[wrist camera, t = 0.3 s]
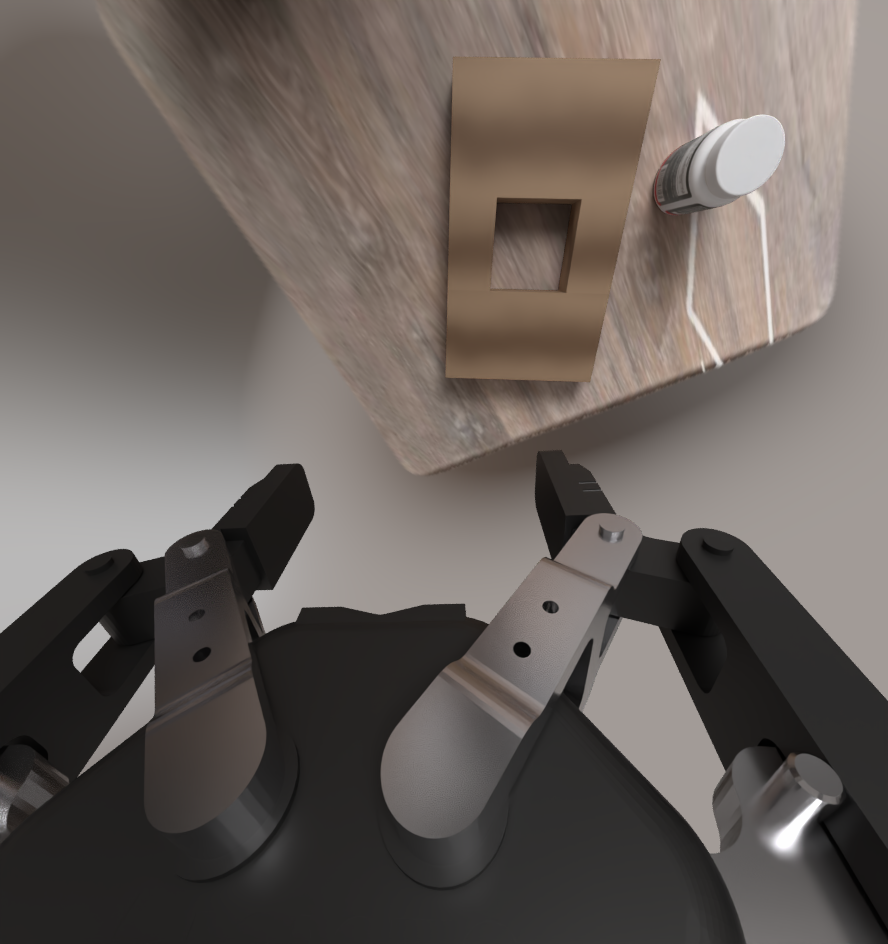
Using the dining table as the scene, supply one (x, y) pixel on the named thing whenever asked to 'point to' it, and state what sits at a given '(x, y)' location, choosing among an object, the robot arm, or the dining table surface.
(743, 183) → the pill bottle
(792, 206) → the dining table surface
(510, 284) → the dining table surface
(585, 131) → the board
